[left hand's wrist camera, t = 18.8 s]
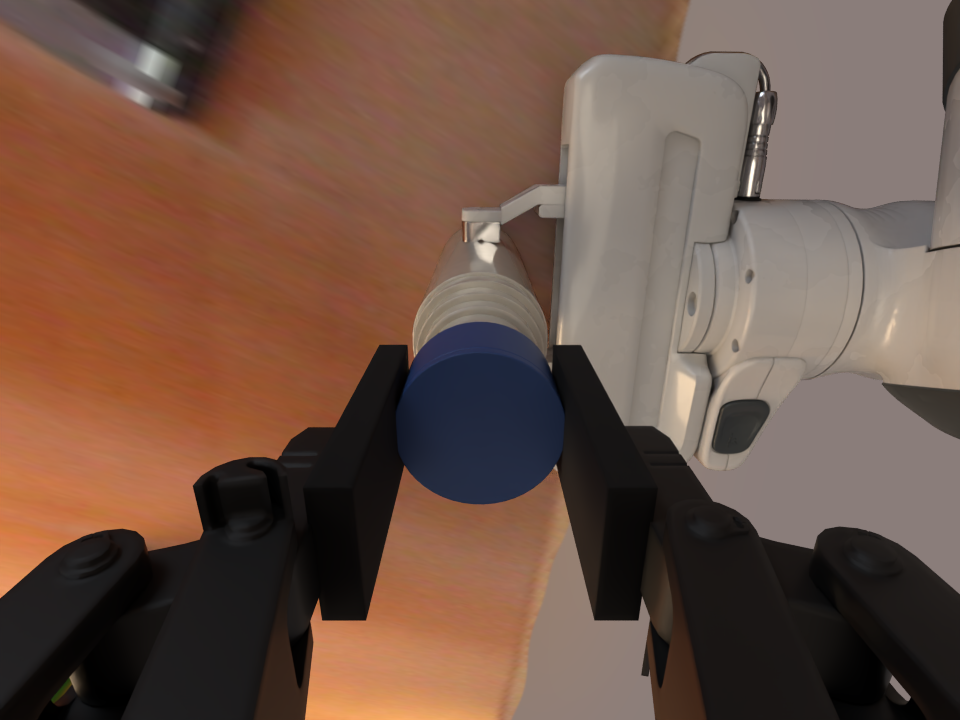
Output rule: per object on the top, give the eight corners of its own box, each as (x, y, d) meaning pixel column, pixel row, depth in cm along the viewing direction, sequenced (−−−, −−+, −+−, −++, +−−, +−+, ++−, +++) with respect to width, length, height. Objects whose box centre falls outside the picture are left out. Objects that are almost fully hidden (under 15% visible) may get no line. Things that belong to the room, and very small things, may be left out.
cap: (408, 315, 14) (395, 345, 11) (563, 327, 14) (579, 359, 11) (404, 449, 15) (391, 499, 13) (543, 459, 15) (554, 510, 13)
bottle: (524, 297, 32) (586, 491, 13) (447, 308, 32) (403, 514, 14) (514, 218, 30) (569, 313, 12) (433, 230, 31) (360, 344, 12)
